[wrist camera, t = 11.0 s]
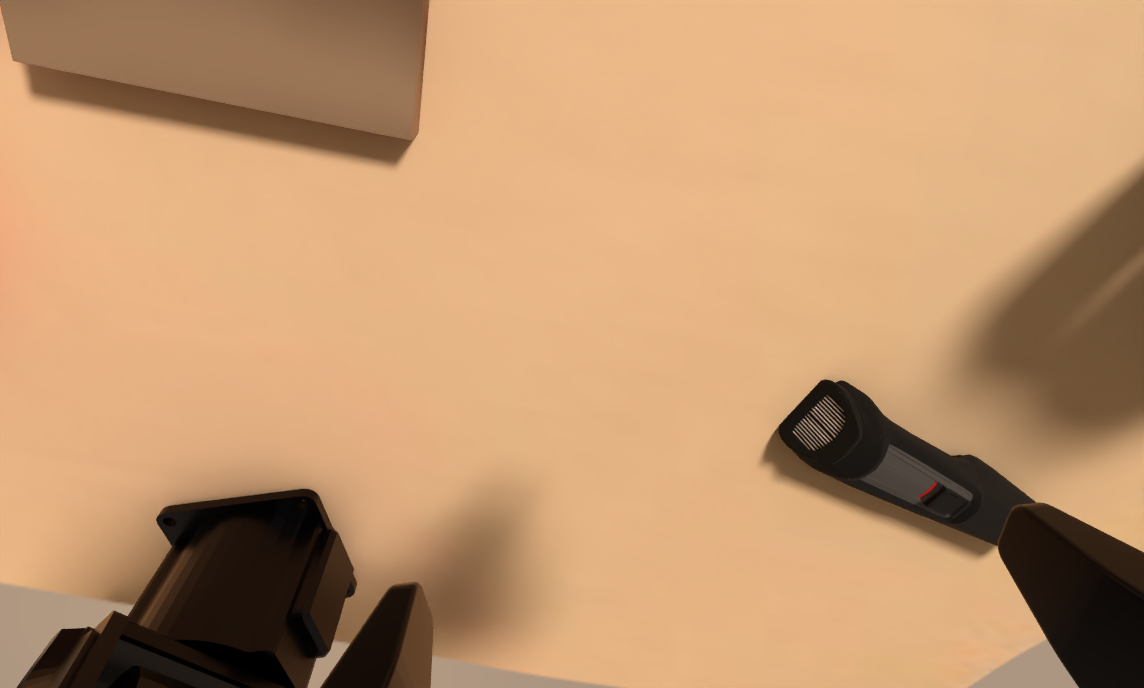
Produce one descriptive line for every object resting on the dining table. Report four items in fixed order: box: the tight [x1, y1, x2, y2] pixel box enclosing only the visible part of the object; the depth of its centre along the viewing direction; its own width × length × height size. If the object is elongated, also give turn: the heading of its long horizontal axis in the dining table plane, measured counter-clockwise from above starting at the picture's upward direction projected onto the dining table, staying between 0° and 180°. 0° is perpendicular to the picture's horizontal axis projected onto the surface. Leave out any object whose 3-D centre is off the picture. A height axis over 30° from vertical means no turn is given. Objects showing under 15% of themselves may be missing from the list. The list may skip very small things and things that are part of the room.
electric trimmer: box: [779, 380, 1036, 546], centre depth 26 cm, size 4×16×3 cm, turn 58°
